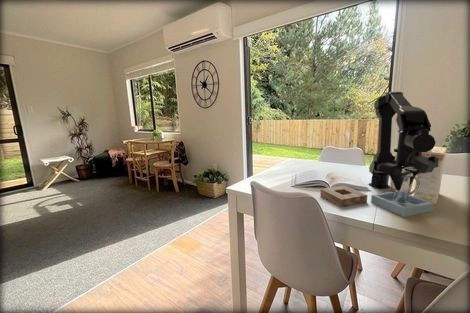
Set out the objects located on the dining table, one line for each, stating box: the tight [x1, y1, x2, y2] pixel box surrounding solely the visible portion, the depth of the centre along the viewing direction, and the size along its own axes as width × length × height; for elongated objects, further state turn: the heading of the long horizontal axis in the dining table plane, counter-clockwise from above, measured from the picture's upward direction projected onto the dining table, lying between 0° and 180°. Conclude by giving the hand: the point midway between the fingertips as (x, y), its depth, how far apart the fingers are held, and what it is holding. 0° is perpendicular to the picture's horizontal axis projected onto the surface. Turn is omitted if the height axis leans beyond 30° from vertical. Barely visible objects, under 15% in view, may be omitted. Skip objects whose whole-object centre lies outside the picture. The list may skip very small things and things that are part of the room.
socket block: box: [320, 185, 368, 208], centre depth 91 cm, size 12×12×3 cm
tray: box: [370, 191, 434, 218], centre depth 82 cm, size 13×13×3 cm
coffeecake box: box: [413, 146, 447, 206], centre depth 88 cm, size 15×7×20 cm, turn 134°
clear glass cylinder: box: [395, 170, 413, 203], centre depth 81 cm, size 5×5×11 cm
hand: (402, 189), depth 81 cm, fingers closed on clear glass cylinder, 4 cm apart
